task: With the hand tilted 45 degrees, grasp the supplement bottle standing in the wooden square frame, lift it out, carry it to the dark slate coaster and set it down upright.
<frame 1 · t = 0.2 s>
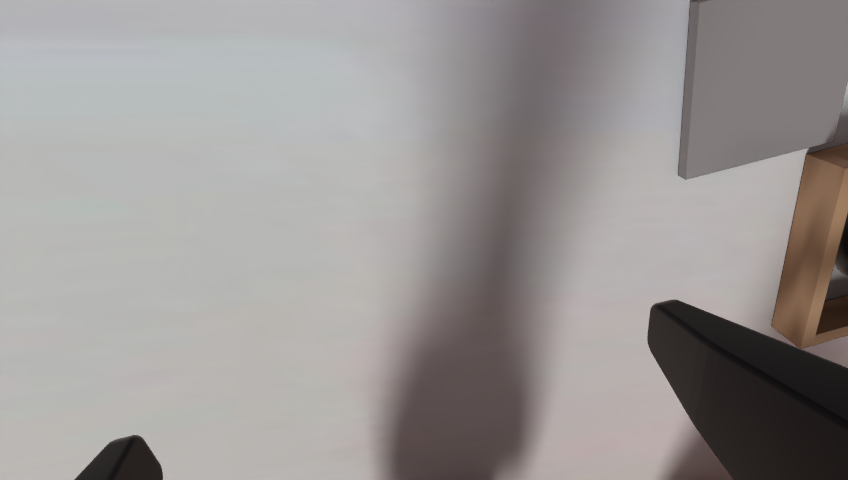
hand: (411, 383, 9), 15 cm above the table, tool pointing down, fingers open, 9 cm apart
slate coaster: (763, 76, 24), on the table
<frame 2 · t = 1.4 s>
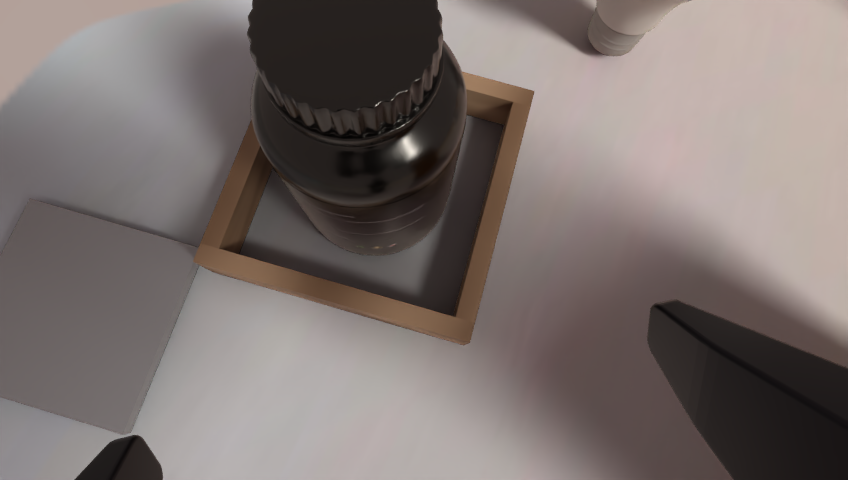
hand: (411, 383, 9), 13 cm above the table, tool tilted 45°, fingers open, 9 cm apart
lightbulb: (604, 46, 26), on the table
wooden square frame: (376, 189, 24), on the table
supplement bottle: (376, 191, 24), resting in wooden square frame
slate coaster: (82, 311, 22), on the table
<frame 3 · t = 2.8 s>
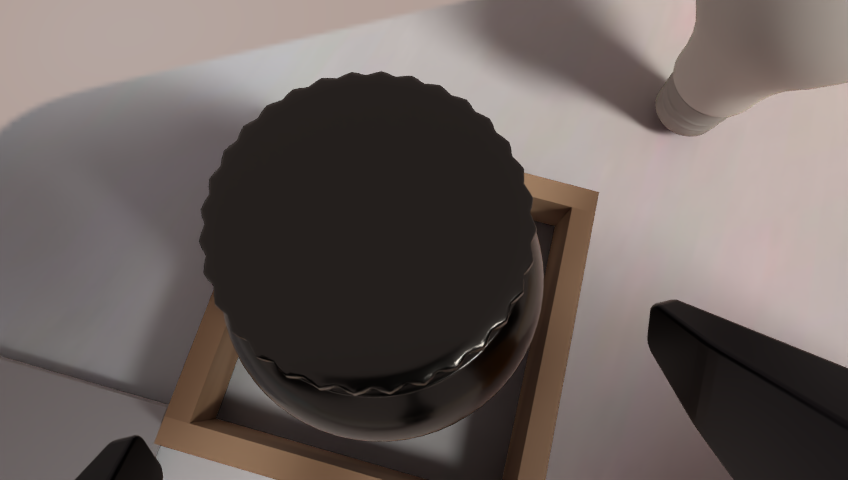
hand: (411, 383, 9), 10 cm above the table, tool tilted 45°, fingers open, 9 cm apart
lightbulb: (673, 120, 21), on the table
wooden square frame: (395, 316, 19), on the table
supplement bottle: (395, 317, 19), resting in wooden square frame
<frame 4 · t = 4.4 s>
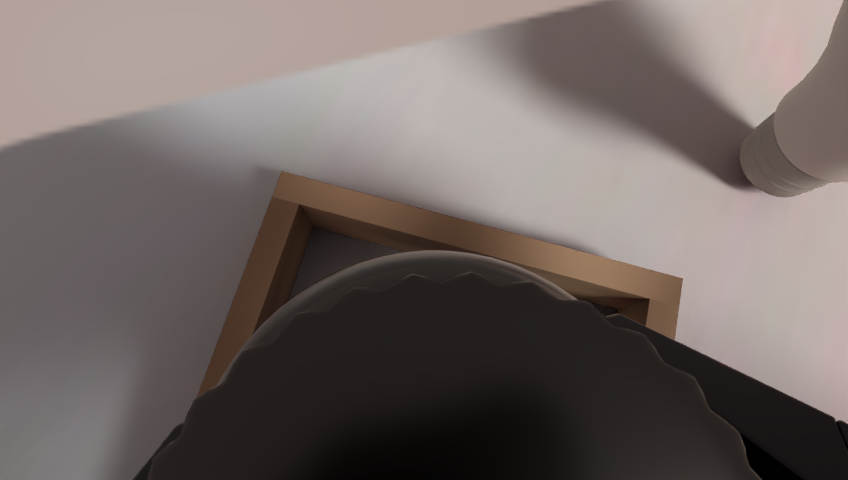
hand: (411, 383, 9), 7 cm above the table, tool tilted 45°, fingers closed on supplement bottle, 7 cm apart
lightbulb: (757, 173, 17), on the table
wooden square frame: (422, 428, 15), on the table
supplement bottle: (422, 427, 15), resting in wooden square frame, touching gripper
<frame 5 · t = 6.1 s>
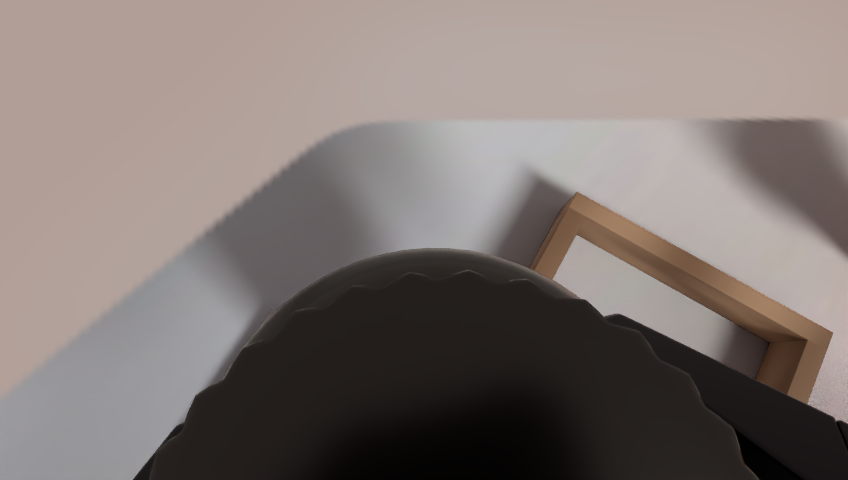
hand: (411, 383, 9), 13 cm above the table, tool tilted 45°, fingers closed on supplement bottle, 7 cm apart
wooden square frame: (621, 384, 22), on the table
supplement bottle: (426, 424, 15), point 6 cm above the table, touching gripper
when the fingers open (8 cm above the table, at t = 8.1 s): supplement bottle stays where it is, resting on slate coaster.
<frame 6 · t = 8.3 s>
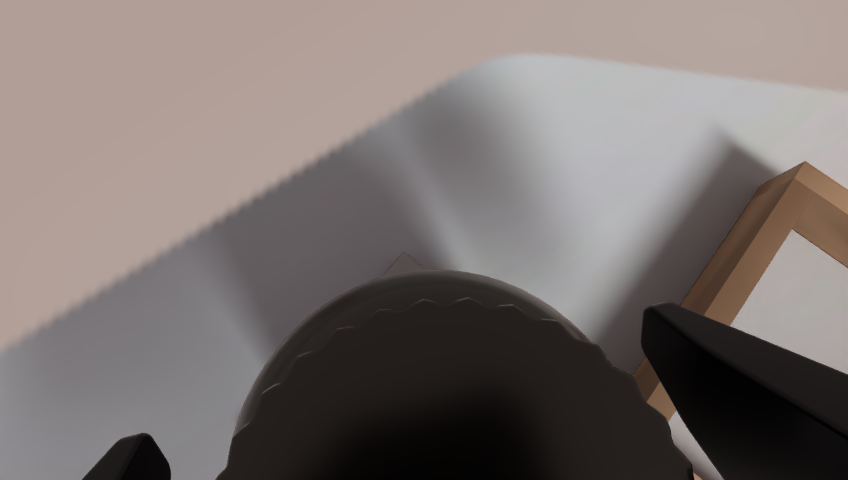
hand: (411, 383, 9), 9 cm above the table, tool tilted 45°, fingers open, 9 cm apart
wooden square frame: (826, 410, 17), on the table
supplement bottle: (424, 426, 16), resting on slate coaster
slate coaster: (419, 422, 17), on the table
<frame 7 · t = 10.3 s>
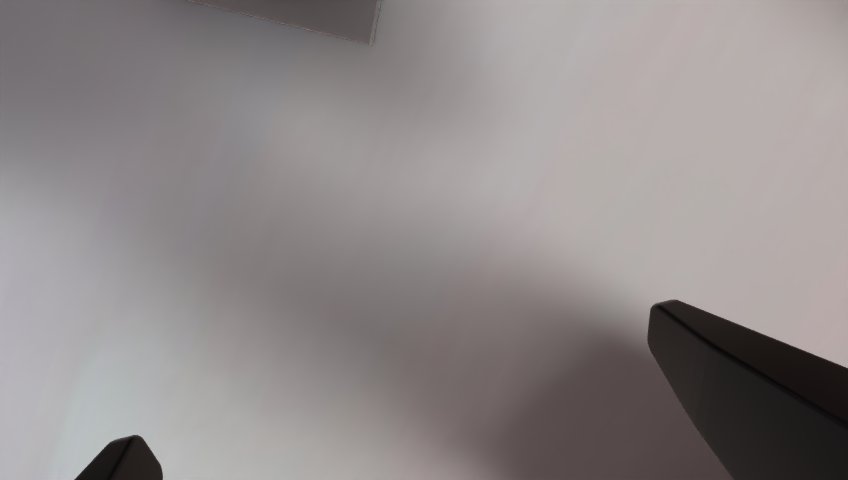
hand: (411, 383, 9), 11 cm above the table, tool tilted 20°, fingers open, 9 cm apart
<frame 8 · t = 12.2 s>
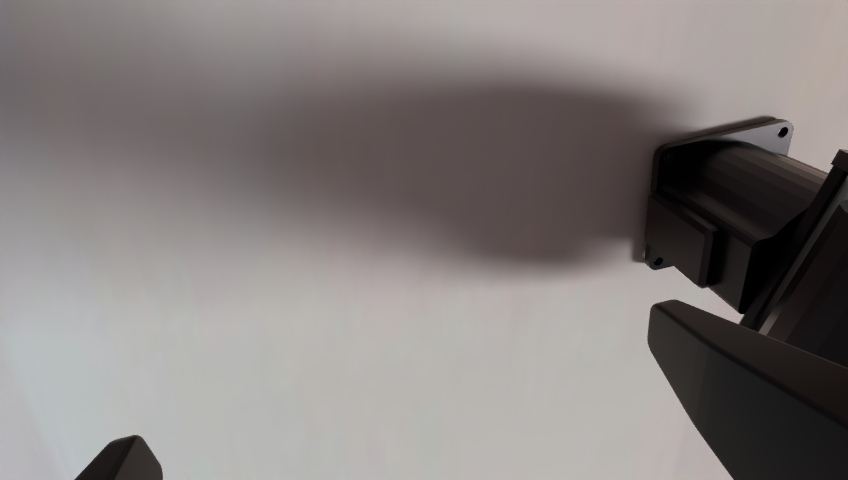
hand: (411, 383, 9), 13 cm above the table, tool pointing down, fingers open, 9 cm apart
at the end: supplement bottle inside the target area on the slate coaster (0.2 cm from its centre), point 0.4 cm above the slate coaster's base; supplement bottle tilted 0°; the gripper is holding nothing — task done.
